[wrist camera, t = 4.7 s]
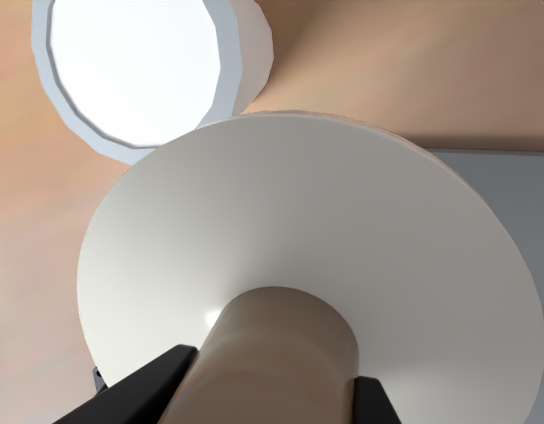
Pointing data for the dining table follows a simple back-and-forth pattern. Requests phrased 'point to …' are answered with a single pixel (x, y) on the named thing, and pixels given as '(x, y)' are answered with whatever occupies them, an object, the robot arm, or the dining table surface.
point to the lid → (310, 278)
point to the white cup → (148, 67)
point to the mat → (510, 209)
